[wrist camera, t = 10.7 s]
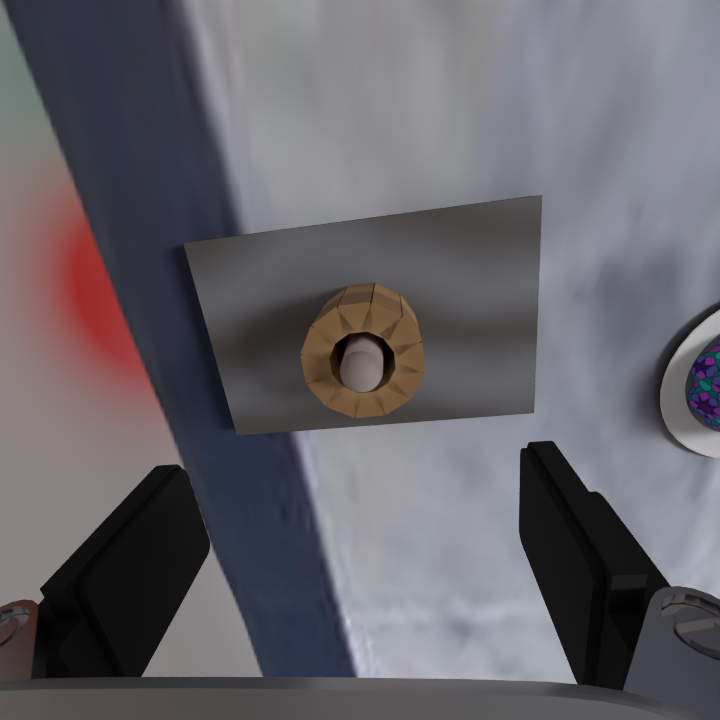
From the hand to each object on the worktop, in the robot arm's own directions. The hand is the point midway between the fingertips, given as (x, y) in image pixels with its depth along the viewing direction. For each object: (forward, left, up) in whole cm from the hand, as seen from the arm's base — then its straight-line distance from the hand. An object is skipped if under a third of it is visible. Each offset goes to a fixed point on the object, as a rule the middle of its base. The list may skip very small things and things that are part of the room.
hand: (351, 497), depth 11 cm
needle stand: (0, 0, -16) cm, 16 cm away
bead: (0, 0, -14) cm, 14 cm away
